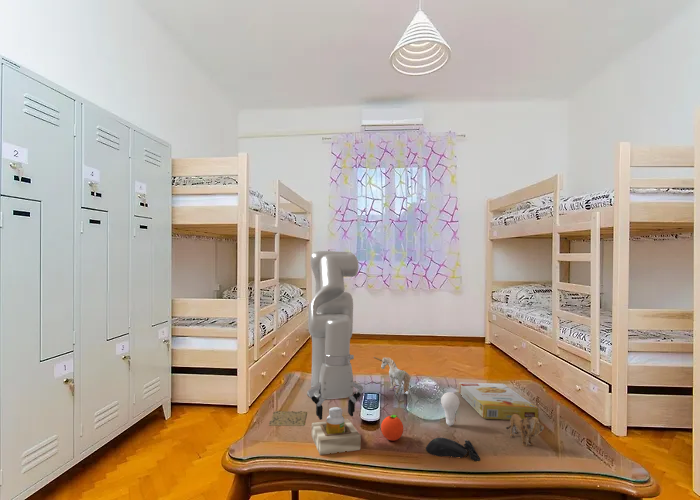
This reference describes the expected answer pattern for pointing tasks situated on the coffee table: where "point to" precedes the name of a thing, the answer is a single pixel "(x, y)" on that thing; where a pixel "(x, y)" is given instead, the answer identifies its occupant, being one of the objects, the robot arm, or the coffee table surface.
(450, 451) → the black computer mouse
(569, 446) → the coffee table surface
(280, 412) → the cookie
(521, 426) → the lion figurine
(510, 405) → the cereal box
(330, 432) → the supplement bottle
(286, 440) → the coffee table surface
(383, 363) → the unicorn figurine
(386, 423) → the clementine
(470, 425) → the coffee table surface
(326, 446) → the socket block
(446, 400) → the lightbulb
